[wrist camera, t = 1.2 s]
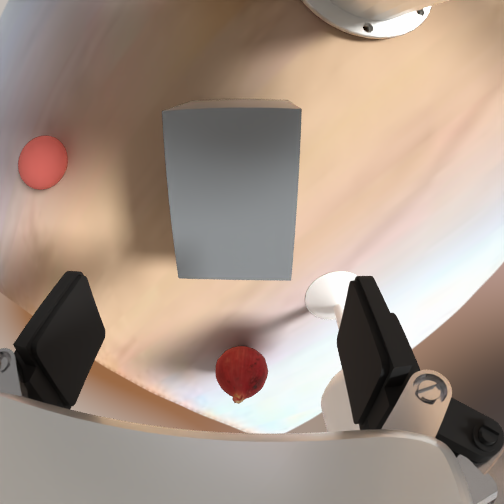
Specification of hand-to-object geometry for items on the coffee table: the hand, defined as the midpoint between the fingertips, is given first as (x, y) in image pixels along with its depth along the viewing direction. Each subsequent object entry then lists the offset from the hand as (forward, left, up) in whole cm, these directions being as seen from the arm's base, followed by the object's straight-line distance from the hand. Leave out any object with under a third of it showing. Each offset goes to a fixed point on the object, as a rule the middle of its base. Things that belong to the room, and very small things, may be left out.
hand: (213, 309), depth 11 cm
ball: (-2, -18, -16) cm, 24 cm away
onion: (+22, 0, -18) cm, 29 cm away
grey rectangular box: (0, 0, -18) cm, 18 cm away
